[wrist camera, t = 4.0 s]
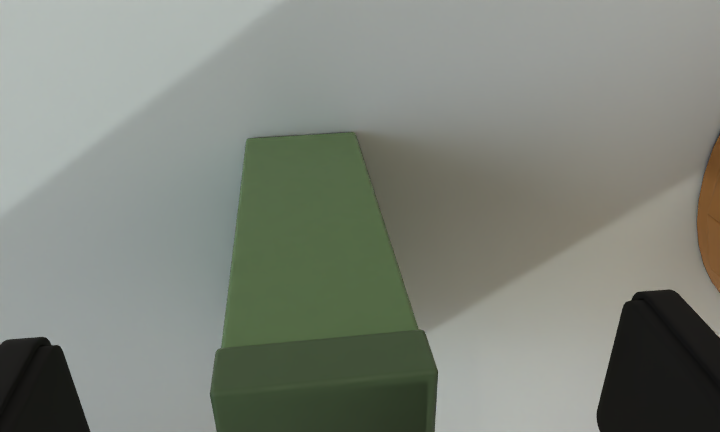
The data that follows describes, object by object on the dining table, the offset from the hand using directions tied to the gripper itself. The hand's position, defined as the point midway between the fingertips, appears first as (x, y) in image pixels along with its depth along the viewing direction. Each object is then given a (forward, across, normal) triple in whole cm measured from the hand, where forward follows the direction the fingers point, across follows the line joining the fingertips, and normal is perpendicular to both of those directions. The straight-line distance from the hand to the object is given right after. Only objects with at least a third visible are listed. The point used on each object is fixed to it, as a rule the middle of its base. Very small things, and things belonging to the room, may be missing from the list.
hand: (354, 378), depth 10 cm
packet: (+5, +1, 0) cm, 5 cm away
